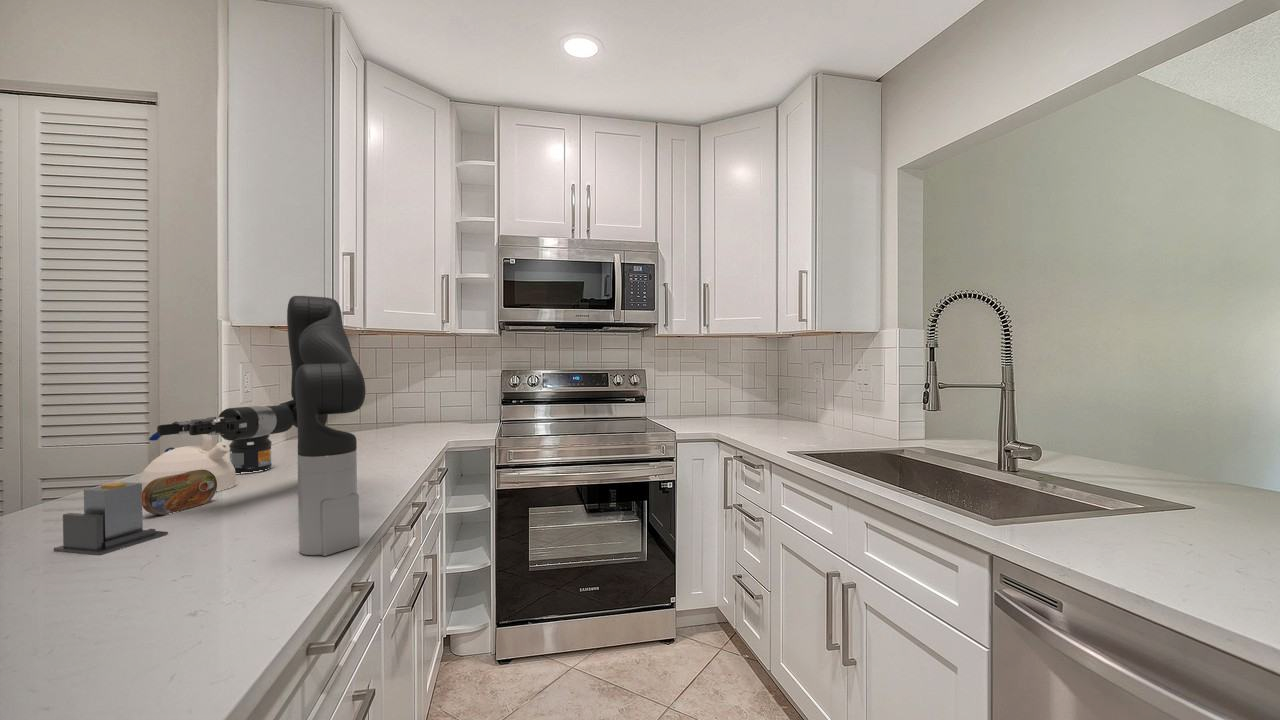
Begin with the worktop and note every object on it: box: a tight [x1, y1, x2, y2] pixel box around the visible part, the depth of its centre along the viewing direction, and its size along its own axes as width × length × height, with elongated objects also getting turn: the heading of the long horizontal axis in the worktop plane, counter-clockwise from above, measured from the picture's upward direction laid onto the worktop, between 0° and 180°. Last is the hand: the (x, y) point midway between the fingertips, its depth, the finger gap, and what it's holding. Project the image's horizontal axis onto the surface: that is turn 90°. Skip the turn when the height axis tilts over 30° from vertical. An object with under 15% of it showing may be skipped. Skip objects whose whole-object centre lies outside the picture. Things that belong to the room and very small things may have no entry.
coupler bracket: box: [53, 512, 169, 556], centre depth 99 cm, size 11×11×6 cm
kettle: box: [137, 425, 238, 492], centre depth 139 cm, size 20×21×18 cm
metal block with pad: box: [83, 481, 144, 542], centre depth 99 cm, size 6×5×10 cm
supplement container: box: [229, 434, 273, 473], centre depth 162 cm, size 10×10×12 cm
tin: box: [142, 470, 217, 516], centre depth 121 cm, size 15×3×8 cm, turn 168°
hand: (174, 430), depth 110 cm, fingers open, 8 cm apart
